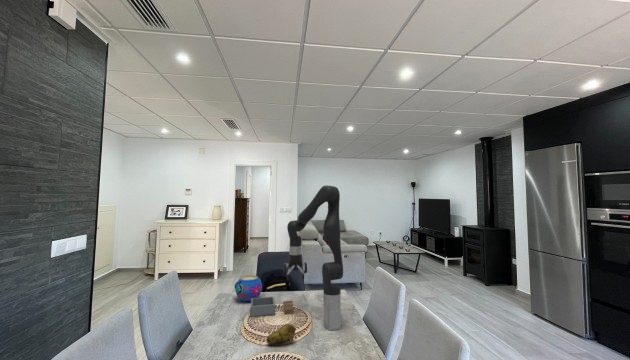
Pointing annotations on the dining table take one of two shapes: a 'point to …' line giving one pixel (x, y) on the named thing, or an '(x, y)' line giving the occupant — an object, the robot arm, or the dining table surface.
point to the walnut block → (288, 307)
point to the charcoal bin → (262, 306)
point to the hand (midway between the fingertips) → (295, 280)
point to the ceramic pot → (248, 287)
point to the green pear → (281, 334)
